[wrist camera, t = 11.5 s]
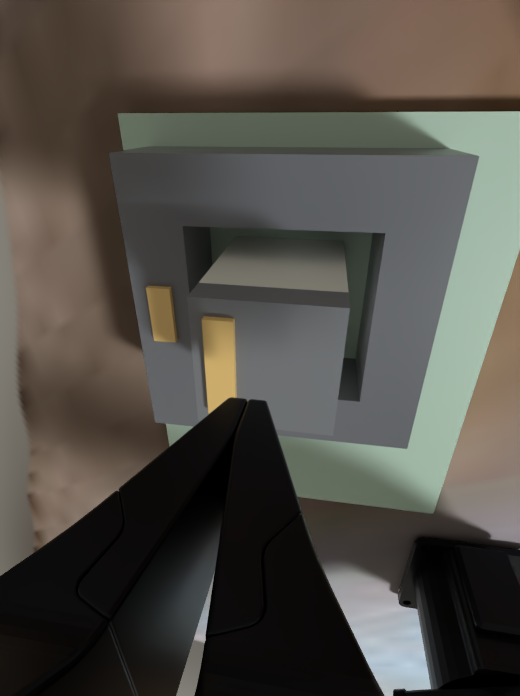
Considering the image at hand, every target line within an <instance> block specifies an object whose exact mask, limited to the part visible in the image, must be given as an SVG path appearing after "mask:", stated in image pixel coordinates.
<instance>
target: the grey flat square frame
mask: <svg viewBox="0 0 520 696" xmlns="http://www.w3.org/2000/svg"><path fill="white" fill-rule="evenodd" d="M109 158H110V164H111V170H112V176H113V182H114V187H115V193H116V199H117V205H118V210H119V216H120V222H121V228H122V234H123V239H124V245H125V251H126V257H127V262H128V268H129V274H130V280H131V286H132V291H133V297H134V303H135V309H136V314H137V320H138V326H139V332H140V338H141V343H142V349H143V355H144V361H145V366H146V372H147V378H148V384H149V390H150V395H151V401H152V407H153V413H154V419H155V423H165V424H174V425H184V426H193V427H194V426H195V425H196V424H198V423H199V422H200V421H198V414H197V403H196V392H195V381H194V370H193V358H192V347H191V336H190V325H189V314H188V302H187V296H188V295H189V294H190V292H191V291H192V290H193V289H194V288H195V286H196V285H197V284H198V283H199V281H200V280H201V279H202V278H203V276H204V275H205V274H206V273H207V272H208V270H209V269H210V268H211V267H212V252H211V236H210V227H222V228H250V229H278V230H307V231H335V232H364V233H373V235H372V242H371V249H370V257H369V264H368V271H367V278H366V286H365V293H364V300H363V308H362V315H361V322H360V329H359V337H358V344H357V351H356V358H355V359H353V358H343V365H342V372H341V380H340V387H339V395H338V403H337V410H336V418H335V425H334V433H333V436H329V435H320V434H311V433H302V432H293V431H284V430H276V432H277V435H279V436H288V437H298V438H307V439H317V440H326V441H336V442H345V443H355V444H364V445H374V446H383V447H393V448H402V449H407V448H408V444H409V440H410V436H411V432H412V428H413V424H414V420H415V416H416V412H417V408H418V404H419V399H420V395H421V391H422V387H423V383H424V379H425V375H426V371H427V367H428V363H429V359H430V355H431V351H432V347H433V343H434V339H435V335H436V330H437V326H438V322H439V318H440V314H441V310H442V306H443V302H444V298H445V294H446V290H447V286H448V282H449V278H450V274H451V270H452V266H453V261H454V257H455V253H456V249H457V245H458V241H459V237H460V233H461V229H462V225H463V221H464V217H465V213H466V209H467V205H468V201H469V197H470V192H471V188H472V184H473V180H474V176H475V172H476V168H477V164H478V160H479V156H477V155H473V154H469V153H465V152H462V151H458V150H454V149H450V148H327V147H188V146H148V147H141V148H135V149H128V150H122V151H116V152H109Z"/></svg>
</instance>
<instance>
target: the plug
mask: <svg viewBox="0 0 520 696" xmlns="http://www.w3.org/2000/svg"><path fill="white" fill-rule="evenodd" d="M187 302H188V314H189V325H190V336H191V347H192V358H193V370H194V381H195V392H196V403H197V414H198V421H201V420H202V419H204V418H205V417H206V416H207V415H208V414H210V413H211V412H212V411H213V410H214V409H216V408H217V407H218V406H219V405H220V404H222V403H223V402H224V401H225V400H227V399H228V398H230V397H235V398H245V399H247V401H248V400H250V399H256V400H265V401H266V402H267V403H268V407H269V410H270V413H271V416H272V419H273V422H274V425H275V428H276V430H284V431H293V432H302V433H311V434H320V435H329V436H333V433H334V425H335V418H336V410H337V403H338V395H339V387H340V380H341V372H342V365H343V357H344V350H345V342H346V335H347V327H348V320H349V312H350V303H349V292H348V282H347V271H346V261H345V250H344V241H329V240H309V239H289V238H268V237H248V236H236V237H235V238H234V239H233V241H232V242H231V243H230V244H229V246H228V247H227V248H226V249H225V251H224V252H223V253H222V254H221V255H220V257H219V258H218V259H217V260H216V262H215V263H214V264H213V265H212V267H211V268H210V269H209V270H208V272H207V273H206V274H205V275H204V276H203V278H202V279H201V280H200V281H199V283H198V284H197V285H196V286H195V288H194V289H193V290H192V291H191V292H190V294H189V295H188V296H187Z"/></svg>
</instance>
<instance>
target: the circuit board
mask: <svg viewBox="0 0 520 696" xmlns="http://www.w3.org/2000/svg"><path fill="white" fill-rule="evenodd" d="M118 119H119V126H120V132H121V139H122V145H123V150H128V149H135V148H141V147H148V146H188V147H327V148H450V149H454V150H458V151H462V152H465V153H469V154H473V155H477V156H479V160H478V164H477V168H476V172H475V176H474V180H473V184H472V188H471V192H470V197H469V201H468V205H467V209H466V213H465V217H464V221H463V225H462V229H461V233H460V237H459V241H458V245H457V249H456V253H455V257H454V261H453V266H452V270H451V274H450V278H449V282H448V286H447V290H446V294H445V298H444V302H443V306H442V310H441V314H440V318H439V322H438V326H437V330H436V335H435V339H434V343H433V347H432V351H431V355H430V359H429V363H428V367H427V371H426V375H425V379H424V383H423V387H422V391H421V395H420V399H419V404H418V408H417V412H416V416H415V420H414V424H413V428H412V432H411V436H410V440H409V444H408V448H407V449H402V448H393V447H383V446H374V445H364V444H355V443H345V442H336V441H326V440H317V439H307V438H298V437H288V436H279V435H278V438H279V441H280V444H281V447H282V450H283V453H284V457H285V460H286V463H287V466H288V469H289V472H290V475H291V478H292V482H293V485H294V488H295V491H296V494H297V497H302V498H310V499H318V500H326V501H334V502H342V503H350V504H358V505H366V506H374V507H382V508H390V509H398V510H406V511H414V512H422V513H430V514H433V513H434V510H435V507H436V504H437V501H438V498H439V495H440V492H441V489H442V486H443V483H444V480H445V477H446V473H447V470H448V467H449V464H450V461H451V458H452V455H453V452H454V449H455V446H456V443H457V440H458V437H459V434H460V431H461V427H462V424H463V421H464V418H465V415H466V412H467V409H468V406H469V403H470V400H471V397H472V394H473V391H474V388H475V385H476V382H477V378H478V375H479V372H480V369H481V366H482V363H483V360H484V357H485V354H486V351H487V348H488V345H489V342H490V339H491V336H492V333H493V329H494V326H495V323H496V320H497V317H498V314H499V311H500V308H501V305H502V302H503V299H504V296H505V293H506V290H507V287H508V283H509V280H510V277H511V274H512V271H513V268H514V265H515V262H516V259H517V256H518V253H519V250H520V111H501V112H283V113H118ZM372 235H373V233H364V232H335V231H307V230H278V229H250V228H222V227H210V236H211V252H212V265H213V264H214V263H215V262H216V260H217V259H218V258H219V257H220V255H221V254H222V253H223V252H224V251H225V249H226V248H227V247H228V246H229V244H230V243H231V242H232V241H233V239H234V238H235V237H236V236H248V237H268V238H289V239H309V240H329V241H344V250H345V261H346V271H347V282H348V292H349V303H350V312H349V320H348V327H347V335H346V342H345V350H344V357H343V358H353V359H355V358H356V351H357V344H358V337H359V329H360V322H361V315H362V308H363V300H364V293H365V286H366V278H367V271H368V264H369V257H370V249H371V242H372ZM166 427H167V434H168V440H169V446H171V445H172V444H173V443H175V442H176V441H177V440H178V439H179V438H181V437H182V436H183V435H184V434H185V433H187V432H188V431H189V430H190V429H191V428H193V426H184V425H174V424H166Z"/></svg>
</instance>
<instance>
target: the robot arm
mask: <svg viewBox="0 0 520 696" xmlns="http://www.w3.org/2000/svg"><path fill="white" fill-rule="evenodd" d="M302 514H303V513H302V510H301V507H300V503H299V500H298V497H297V494H296V491H295V488H294V485H293V482H292V478H291V475H290V472H289V469H288V466H287V463H286V460H285V457H284V453H283V450H282V447H281V444H280V441H279V438H278V435H277V432H276V428H275V425H274V422H273V419H272V416H271V413H270V410H269V407H268V403H267V402H266V401H265V400H256V399H250V400H248V401H247V399H245V398H235V397H230V398H228V399H227V400H225V401H224V402H223V403H222V404H220V405H219V406H218V407H217V408H216V409H214V410H213V411H212V412H211V413H210V414H208V415H207V416H206V417H205V418H204V419H202V420H201V421H200V422H199V423H198V424H196V425H195V426H194V427H193V428H191V429H190V430H189V431H188V432H187V433H185V434H184V435H183V436H182V437H181V438H179V439H178V440H177V441H176V442H175V443H173V444H172V445H171V446H170V447H168V448H167V449H166V450H165V451H164V452H162V453H161V454H160V455H159V456H158V457H156V458H155V459H154V460H153V461H152V462H150V463H149V464H148V465H147V466H145V467H144V468H143V469H142V470H141V471H139V472H138V473H137V474H136V475H135V476H133V477H132V478H131V479H130V480H129V481H127V482H126V483H125V484H124V485H123V486H121V487H120V488H119V492H118V491H115V492H114V493H113V494H111V495H110V496H109V497H108V498H107V499H105V500H104V501H103V502H102V503H100V504H99V505H98V506H97V507H95V508H94V509H93V510H92V511H90V512H89V513H88V514H87V515H85V516H84V517H83V518H81V519H80V520H79V521H78V522H76V523H75V524H74V525H72V526H71V527H69V528H68V529H67V530H65V531H64V532H63V533H61V534H60V535H58V536H57V537H56V538H54V539H53V540H51V541H50V542H49V543H47V544H46V545H44V546H43V547H42V548H40V549H39V550H37V551H36V552H34V553H33V554H31V555H30V556H29V557H27V558H26V559H24V560H23V561H21V562H20V563H18V564H17V565H16V566H14V567H13V568H11V569H10V570H9V571H7V572H5V573H4V574H3V575H1V576H0V696H176V694H177V691H178V688H179V684H180V681H181V678H182V675H183V671H184V668H185V665H186V662H187V658H188V655H189V652H190V649H191V645H192V642H193V639H194V636H195V633H196V629H197V626H198V623H199V620H200V617H201V613H202V610H203V607H204V604H205V600H206V597H207V594H208V591H209V588H210V584H211V581H212V578H213V575H214V581H213V588H212V595H211V602H210V609H209V616H208V623H207V630H206V641H205V645H204V651H203V658H202V663H201V669H200V674H199V679H198V684H197V689H196V692H195V696H384V694H383V692H382V690H381V688H380V687H379V685H378V683H377V681H376V679H375V677H374V675H373V673H372V671H371V669H370V667H369V665H368V663H367V661H366V659H365V657H364V655H363V653H362V651H361V649H360V647H359V644H358V642H357V640H356V638H355V636H354V634H353V632H352V630H351V628H350V626H349V624H348V622H347V619H346V617H345V615H344V613H343V611H342V609H341V607H340V605H339V603H338V601H337V599H336V597H335V594H334V592H333V590H332V588H331V586H330V584H329V581H328V579H327V577H326V575H325V572H324V570H323V568H322V565H321V563H320V561H319V559H318V556H317V553H316V550H315V548H314V545H313V542H312V539H311V536H310V534H309V531H308V528H307V525H306V521H305V518H304V516H303V515H302ZM214 571H215V574H214ZM398 600H399V604H400V605H401V606H404V607H409V608H415V609H417V610H418V615H419V621H420V627H421V633H422V638H423V644H424V650H425V656H426V661H427V667H428V673H429V679H430V684H431V689H428V690H413V691H406V690H405V689H394V691H393V696H520V550H516V549H508V548H501V547H493V546H486V545H478V544H471V543H463V542H456V541H448V540H441V539H433V538H426V537H421V538H418V539H416V540H415V541H414V544H413V548H412V551H411V554H410V557H409V561H408V564H407V567H406V570H405V574H404V577H403V580H402V583H401V587H400V590H399V593H398Z"/></svg>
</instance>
